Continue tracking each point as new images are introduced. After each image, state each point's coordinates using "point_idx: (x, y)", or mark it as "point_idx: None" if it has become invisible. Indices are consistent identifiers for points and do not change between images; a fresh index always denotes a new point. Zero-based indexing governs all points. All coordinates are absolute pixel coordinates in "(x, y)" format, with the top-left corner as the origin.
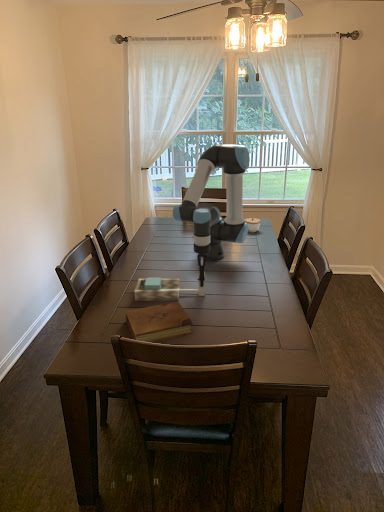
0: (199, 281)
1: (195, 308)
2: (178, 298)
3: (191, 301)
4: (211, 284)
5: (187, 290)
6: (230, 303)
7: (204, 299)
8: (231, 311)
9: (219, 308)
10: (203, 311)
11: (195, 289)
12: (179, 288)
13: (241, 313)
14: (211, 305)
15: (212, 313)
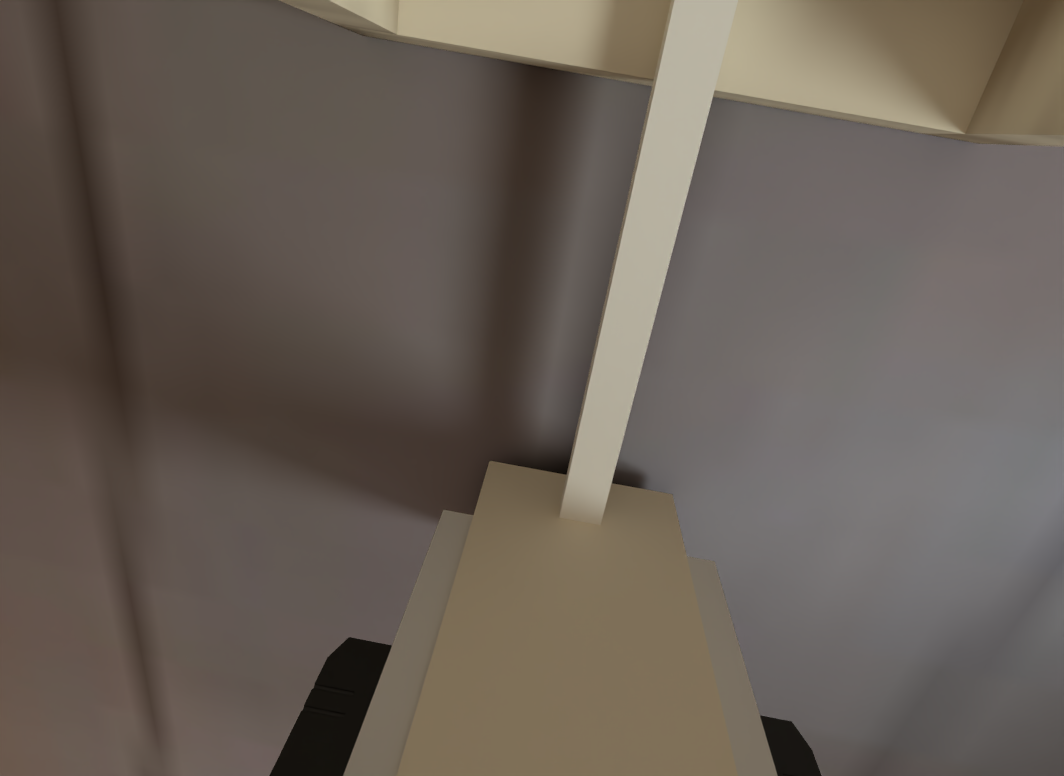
0: (358, 751)
1: (107, 334)
2: (460, 52)
3: (333, 308)
4: (849, 690)
5: (606, 303)
6: (283, 738)
7: (392, 511)
8: (107, 703)
9: (155, 620)
10: (43, 430)
11: (597, 469)
12: (923, 132)
13: (85, 762)
14: (221, 557)
15: (18, 524)
